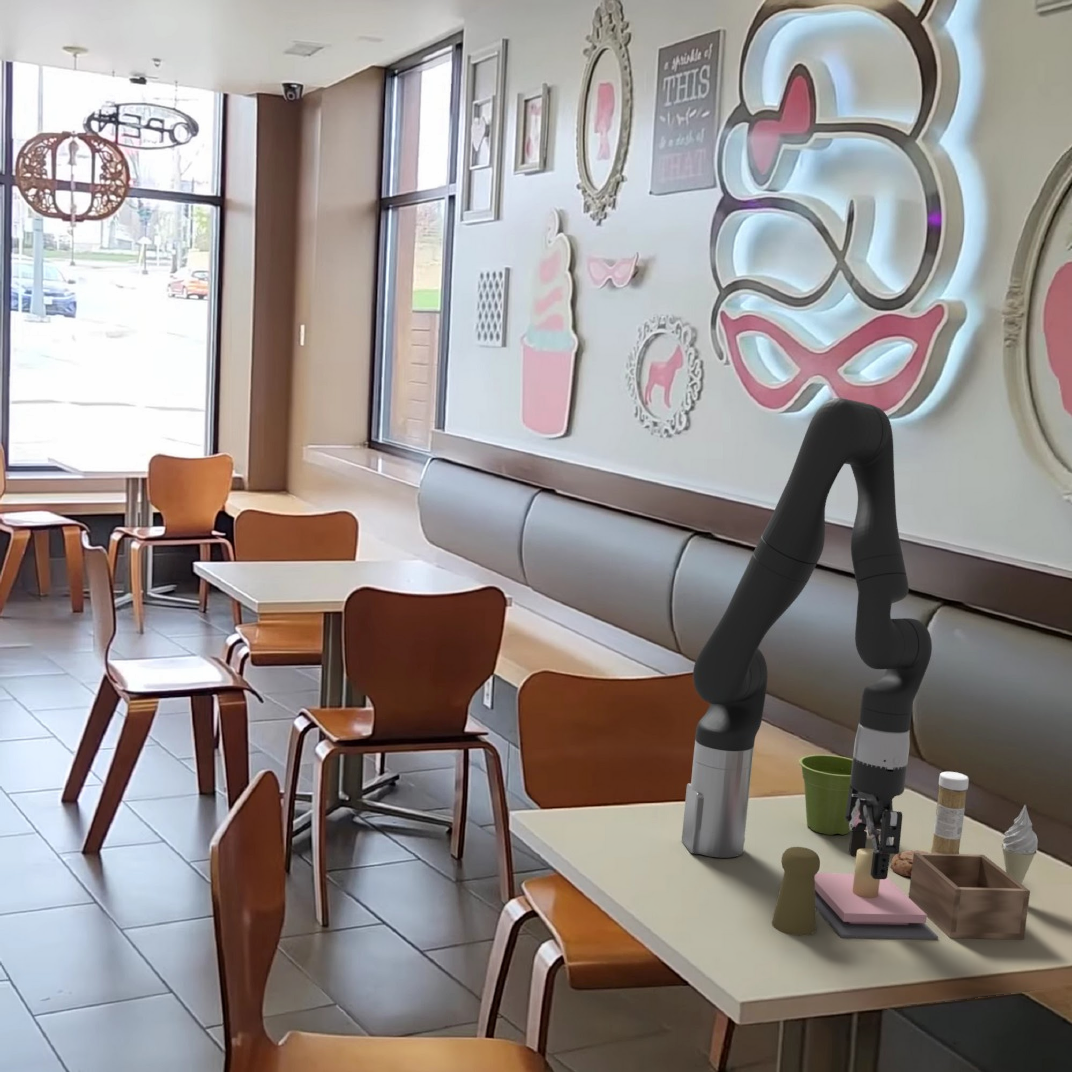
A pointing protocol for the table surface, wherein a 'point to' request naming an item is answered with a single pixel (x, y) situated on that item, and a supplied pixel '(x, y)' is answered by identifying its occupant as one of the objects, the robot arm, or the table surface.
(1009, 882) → the box
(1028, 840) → the ice cream cone
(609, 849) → the table surface
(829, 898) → the lid
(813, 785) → the plant pot
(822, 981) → the table surface
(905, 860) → the cookie
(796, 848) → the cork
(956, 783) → the sprinkles bottle
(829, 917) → the mat
